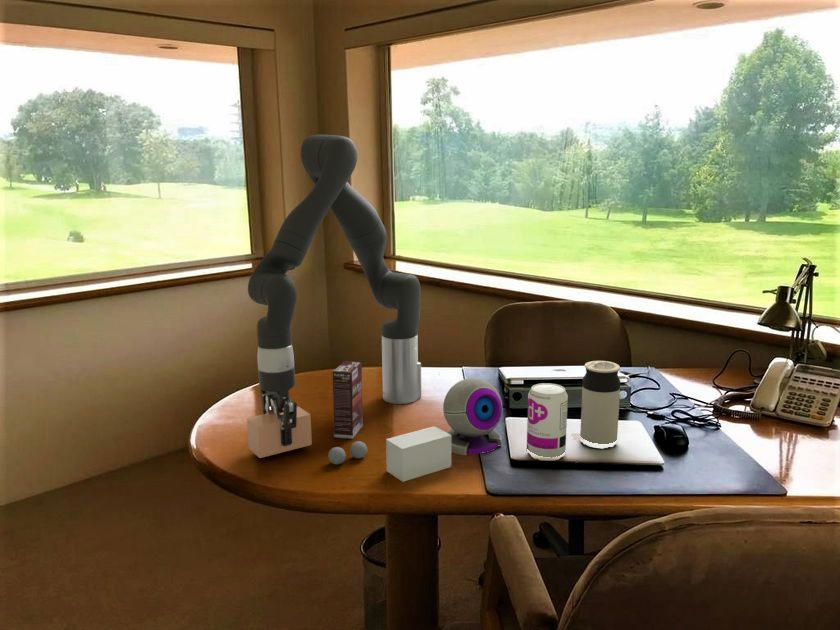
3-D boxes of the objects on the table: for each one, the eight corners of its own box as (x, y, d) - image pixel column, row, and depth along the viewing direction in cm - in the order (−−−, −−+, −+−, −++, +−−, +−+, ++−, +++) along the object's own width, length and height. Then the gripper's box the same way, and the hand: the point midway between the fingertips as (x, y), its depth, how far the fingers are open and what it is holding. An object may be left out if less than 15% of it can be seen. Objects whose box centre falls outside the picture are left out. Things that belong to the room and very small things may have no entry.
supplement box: (353, 439, 166) (351, 372, 162) (333, 438, 167) (330, 371, 163) (364, 425, 174) (362, 361, 171) (344, 424, 175) (342, 360, 172)
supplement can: (542, 466, 152) (544, 397, 148) (519, 451, 159) (520, 385, 155) (573, 458, 155) (576, 391, 152) (549, 444, 162) (551, 380, 159)
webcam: (462, 460, 155) (463, 392, 152) (432, 439, 166) (432, 376, 162) (512, 447, 161) (514, 382, 158) (480, 428, 172) (481, 367, 168)
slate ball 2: (361, 452, 159) (361, 437, 158) (370, 458, 156) (370, 442, 155) (347, 456, 157) (346, 441, 156) (355, 462, 154) (355, 446, 153)
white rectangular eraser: (434, 456, 157) (434, 426, 155) (451, 466, 152) (451, 435, 150) (386, 471, 150) (386, 439, 148) (402, 481, 145) (402, 448, 144)
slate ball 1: (340, 458, 156) (340, 442, 155) (348, 464, 153) (348, 448, 152) (325, 462, 154) (324, 446, 153) (333, 468, 151) (333, 452, 150)
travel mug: (623, 442, 163) (628, 365, 159) (605, 453, 158) (609, 373, 154) (591, 433, 169) (595, 358, 164) (573, 443, 163) (576, 365, 159)
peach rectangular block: (299, 436, 165) (298, 406, 163) (311, 444, 160) (310, 414, 158) (248, 448, 158) (246, 418, 156) (259, 458, 153) (257, 426, 152)
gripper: (307, 370, 151) (310, 446, 155) (278, 354, 163) (282, 426, 166) (273, 377, 147) (277, 455, 151) (246, 360, 158) (251, 433, 162)
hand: (280, 439), depth 159 cm, fingers closed on peach rectangular block, 6 cm apart
